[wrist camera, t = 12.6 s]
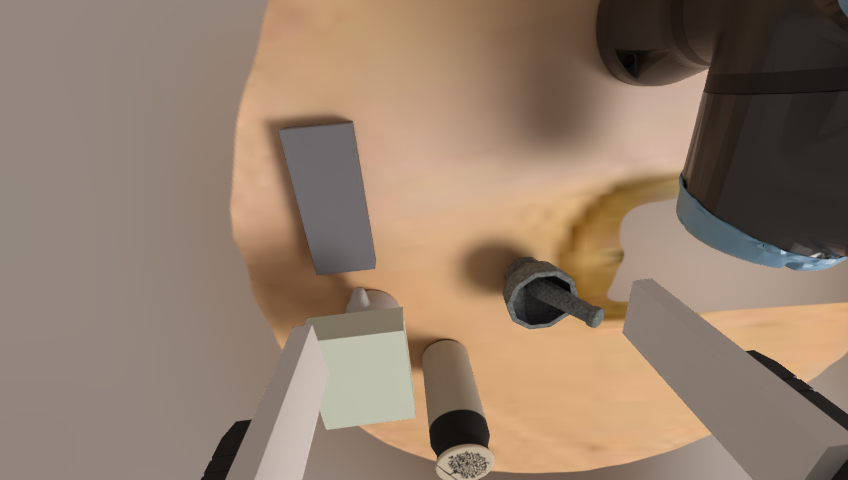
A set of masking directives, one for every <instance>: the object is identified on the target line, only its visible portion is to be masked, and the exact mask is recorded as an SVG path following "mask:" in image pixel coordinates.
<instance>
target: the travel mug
mask: <svg viewBox="0 0 848 480" xmlns="http://www.w3.org/2000/svg"><path fill="white" fill-rule="evenodd" d="M422 365H423V375H424V385H425V394H426V404H427V414H428V424H429V433H430V443H431V447H432V449H433V451H434V452H435V454H436V455H437V460H436V463H435V470H436V473H437V474H438V476H439V477H440V478H442V479H444V480H477V479H479V478H481V477H483V476H485V475H486V474H487V473H488V472H489V471H490V470H491V469H492V467H493V465H494V456H493V454H492V452H491V451H490V450H489V448H488V442H489V438H490V434H489V430H488V426H487V423H486V419H485V415H484V412H483V408H482V404H481V401H480V397H479V393H478V390H477V386H476V383H475V379H474V375H473V372H472V368H471V364H470V361H469V357H468V353H467V350H466V348H465V347H464V346H463V345H462V344H460V343H458V342H456V341H451V340H443V341H439V342H436V343H434V344H432V345H430V346H429V347H428V348H427V349H426V350H425V351H424V353H423V356H422Z"/></svg>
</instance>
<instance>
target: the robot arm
mask: <svg viewBox="0 0 848 480" xmlns="http://www.w3.org/2000/svg"><path fill="white" fill-rule="evenodd" d="M597 42H598V47H599V51H600V54H601V57H602V59H603V61H604V63H605V65H606V67H607V68H608V69H609V71H610V72H611V73H612V74H613V75H614V76H615V77H616V78H618V79H619V80H621V81H623V82H625V83H627V84H630V85H634V86H663V85H668V84H672V83H675V82H678V81H681V80H683V79H685V78H688V77H690V76H692V75H695V74H697V73H699V72H702V71H704V70H706V69H709V71H708V75H707V80H706V84H705V88H704V91H703V94H702V98H701V102H700V106H699V110H698V115H697V119H696V123H695V127H694V131H693V135H692V139H691V143H690V147H689V150H688V154H687V158H686V162H685V165H684V169H683V170H682V172H681V175H680V177H679V186H680V190H679V195H678V201H677V206H676V212H677V216H678V219H679V221H680V222H681V223H682V224H683V225H684V226H685V228H686V230H687V231H688V232H689V233H690V234H691V235H693V236H694V237H695V238H697V239H698V240H700V241H701V242H703V243H705V244H706V245H708V246H710V247H712V248H714V249H716V250H718V251H721V252H723V253H726V254H728V255H731V256H733V257H736V258H739V259H742V260H745V261H749V262H752V263H755V264H759V265H764V266H769V267H774V268H781V267H783V266H786V267H788V268H791V269H793V270H797V271H815V270H822V269H826V268H830V267H832V266H834V265H836V264H837V263H840V262H842V261H843V260H845V259H846V258H847V257H848V0H601V1H600V5H599V10H598V16H597ZM622 333H623V334H624V335H625V336H626V337H627V339H628V340H629V341H630V342H631V343H632V344H633V345H634V346H635V348H636V349H637V350H638V351H639V352H640V353H641V354H642V355H643V357H644V358H645V359H646V360H647V361H648V362H649V363H650V364H651V366H652V367H653V368H654V369H655V370H656V371H657V372H658V373H659V375H660V376H661V377H662V378H663V379H664V380H665V381H666V382H667V384H668V385H669V386H670V387H671V388H672V389H673V390H674V391H675V393H676V394H677V395H678V396H679V397H680V398H681V399H682V400H683V402H684V403H685V404H686V405H687V406H688V407H689V408H690V409H691V411H692V412H693V413H694V414H695V415H696V416H697V417H698V418H699V420H700V421H701V422H702V423H703V424H704V425H705V426H706V427H707V429H708V430H709V431H710V432H711V433H712V434H713V435H714V436H715V437H716V439H717V440H718V441H719V442H720V443H721V444H722V445H723V446H724V448H725V449H726V450H727V451H728V452H729V453H730V454H731V456H732V457H733V458H734V459H735V460H736V461H737V462H738V463H739V464H740V466H741V467H742V468H743V469H744V470H745V471H746V472H747V474H748V475H749V476H750V477H751V478H752V479H753V480H848V414H847V413H845V412H844V411H843V410H841V409H840V408H839V407H837V406H836V405H835V404H833V403H831V402H830V401H829V400H828V399H826V398H825V397H824V396H822V395H821V394H819V393H818V392H815V391H813V388H812V387H810V386H809V385H807V384H806V383H805V382H803V381H802V380H801V379H797V378H796V376H795V375H794V374H793V373H791V372H790V371H789V370H787V369H786V368H785V367H783V366H782V365H780V364H779V363H778V362H776V361H774V360H772V359H770V358H768V357H766V356H764V355H762V354H760V353H758V352H756V351H754V350H751V351H744V350H743V349H742V348H740V347H739V346H738V345H736V344H735V343H734V342H733V341H731V340H730V339H729V338H727V337H726V336H725V335H724V334H722V333H721V332H720V331H718V330H717V329H716V328H715V327H713V326H712V325H711V324H709V323H708V322H707V321H706V320H704V319H703V318H702V317H700V316H699V315H698V314H697V313H695V312H694V311H693V310H691V309H690V308H689V307H688V306H686V305H685V304H684V303H682V302H681V301H680V300H679V299H677V298H676V297H675V296H673V295H672V294H671V293H670V292H668V291H667V290H666V289H664V288H663V287H662V286H660V285H659V284H658V283H657V282H655V281H654V280H653V279H644V280H637V281H633V283H632V289H631V293H630V298H629V303H628V308H627V313H626V318H625V323H624V328H623V332H622ZM328 375H329V371H328V368H327V366H326V363H325V360H324V357H323V354H322V351H321V348H320V346H319V343H318V340H317V337H316V334H315V331H314V328H313V326H312V324H311V325H304V326H297V327H293V329H292V331H291V333H290V335H289V338H288V340H287V342H286V344H285V347H284V349H283V351H282V353H281V356H280V358H279V360H278V362H277V365H276V367H275V369H274V372H273V374H272V376H271V378H270V380H269V383H268V385H267V387H266V390H265V392H264V394H263V396H262V398H261V401H260V403H259V405H258V407H257V410H256V412H255V414H254V417H253V418H252V420H245V421H237V422H235V424H234V425H233V426H232V427H231V428H230V429H229V431H228V432H227V433H226V434H225V435H224V436H223V437H222V439H221V441H220V443H219V445H218V447H217V449H216V451H215V453H214V455H213V456H212V461H210V463H209V464H208V466H207V468H206V470H205V472H204V477H202V478H201V480H302V478H303V474H304V470H305V466H306V462H307V458H308V454H309V450H310V446H311V442H312V438H313V434H314V430H315V426H316V422H317V418H318V414H319V410H320V406H321V403H322V399H323V395H324V391H325V387H326V383H327V379H328Z"/></svg>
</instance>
